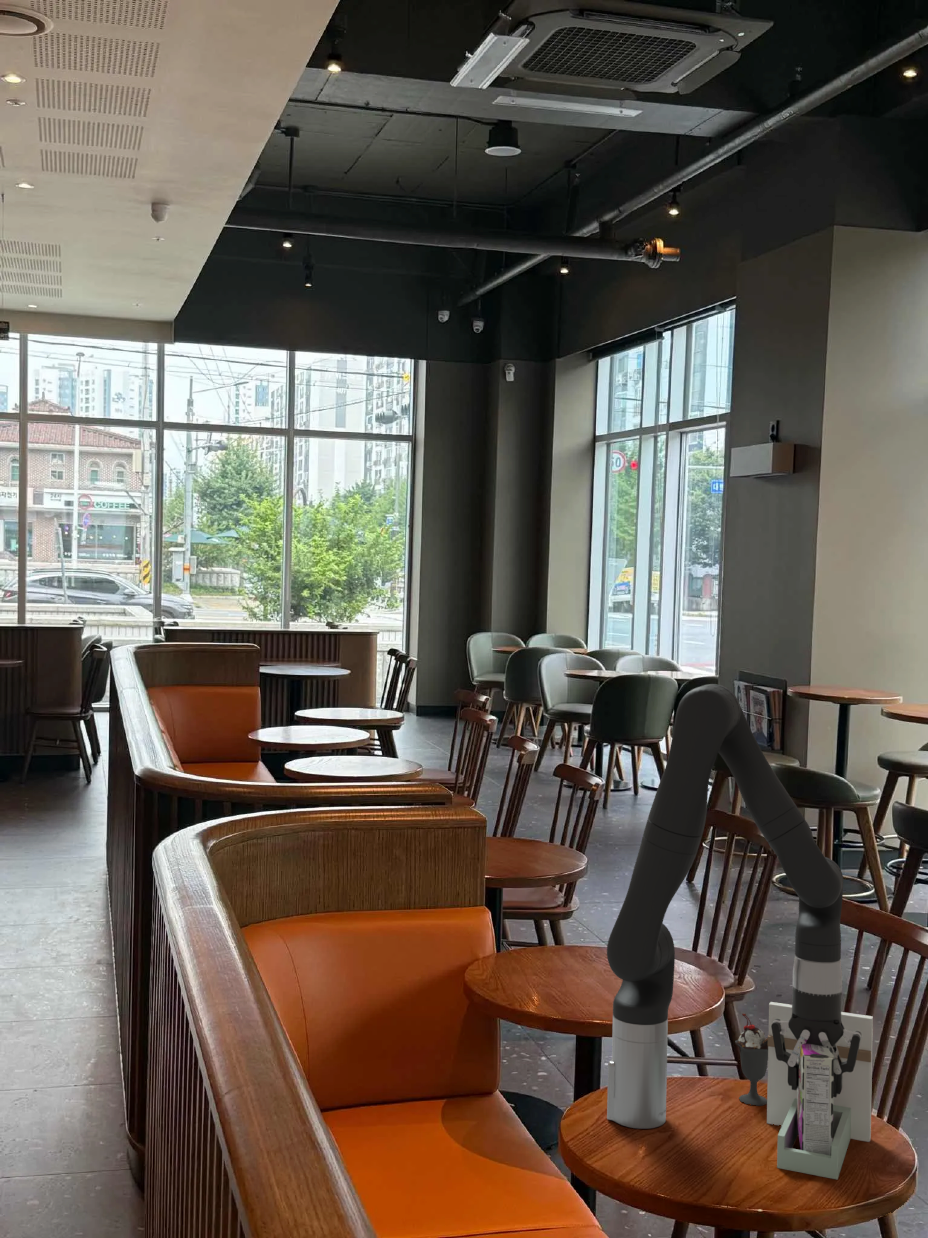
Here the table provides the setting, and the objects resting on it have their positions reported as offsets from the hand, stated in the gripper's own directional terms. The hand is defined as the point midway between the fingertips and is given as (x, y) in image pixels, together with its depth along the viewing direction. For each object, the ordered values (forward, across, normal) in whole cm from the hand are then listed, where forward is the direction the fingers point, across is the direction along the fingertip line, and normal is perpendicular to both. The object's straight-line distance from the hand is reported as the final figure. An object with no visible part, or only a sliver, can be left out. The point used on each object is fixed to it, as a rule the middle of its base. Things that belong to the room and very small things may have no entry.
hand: (814, 1091), depth 193 cm
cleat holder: (+10, -1, +1) cm, 10 cm away
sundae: (+10, -13, +18) cm, 24 cm away
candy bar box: (+9, 0, 0) cm, 9 cm away
